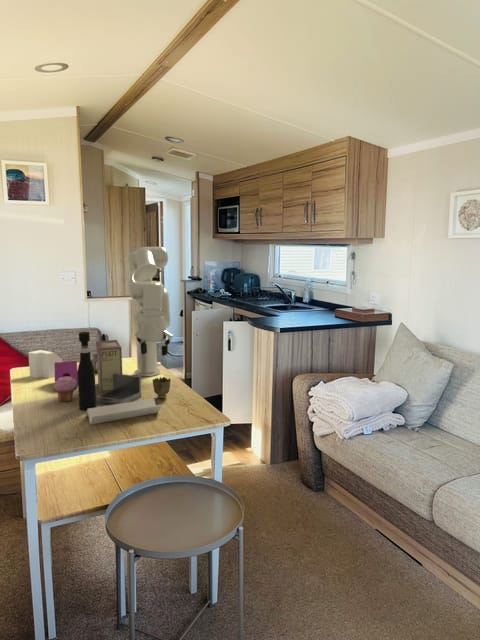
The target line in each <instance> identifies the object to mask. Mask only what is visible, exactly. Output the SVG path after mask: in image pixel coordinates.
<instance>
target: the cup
mask: <svg viewBox="0 0 480 640" xmlns="http://www.w3.org/2000/svg"><path fill="white" fill-rule="evenodd" d="M151 381H152V386H153V392H154V393H155V394H156V395H157V399H160V400H162V399H166V398H167V395H168V393H169V392H170V389H171V378H168V377H165V376H163V377H161V376H160V377H155V378H153V379H152V380H151Z"/></svg>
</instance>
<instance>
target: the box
mask: <svg viewBox="0 0 480 640" xmlns="http://www.w3.org/2000/svg"><path fill="white" fill-rule="evenodd" d="M95 342H96V343H95V344H96V345H95V346H96V352H97V368H98V372H97V383H98V387H99V390H100V395H101V394H103V393H105V392H108V391H110V390H112V389H114V386H113V374H114V373H116V374H123V359H122V357H123V356H122V345H120V343H119V342H118V340H117V339H113V340H97V341H95Z"/></svg>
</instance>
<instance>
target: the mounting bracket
mask: <svg viewBox="0 0 480 640" xmlns="http://www.w3.org/2000/svg"><path fill="white" fill-rule="evenodd" d="M66 376H68V377H72V378H74V379H75V380H76V382H77V387H76V388H75V389H74V391H75V390H76V389H78V361H77V360H72V361H70V360H69V361H63V362H57V363H55V377H54V383H55V382H56V381H57V380H58V379H59V378H61V377H66Z"/></svg>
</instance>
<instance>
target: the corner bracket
mask: <svg viewBox="0 0 480 640" xmlns="http://www.w3.org/2000/svg"><path fill="white" fill-rule="evenodd" d="M57 362H64V359H62V358H61V357H59V355H58V354H56V353H55V351H54V352H52V351H49V350H43V349H39V350H35V351H33V350H32V351H29V352H28V364H29V365H28V366H29V377H31V378H34V379H38V378H45V379H46V378H47V379H52V378H55V363H57Z"/></svg>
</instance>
